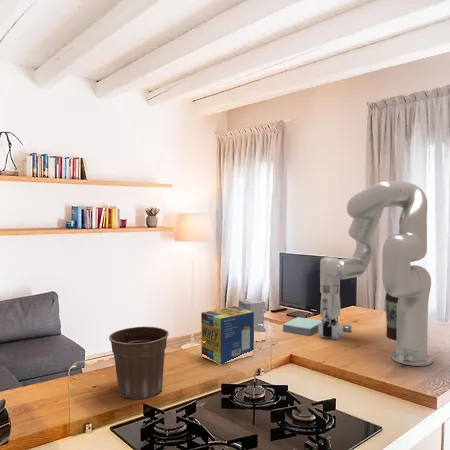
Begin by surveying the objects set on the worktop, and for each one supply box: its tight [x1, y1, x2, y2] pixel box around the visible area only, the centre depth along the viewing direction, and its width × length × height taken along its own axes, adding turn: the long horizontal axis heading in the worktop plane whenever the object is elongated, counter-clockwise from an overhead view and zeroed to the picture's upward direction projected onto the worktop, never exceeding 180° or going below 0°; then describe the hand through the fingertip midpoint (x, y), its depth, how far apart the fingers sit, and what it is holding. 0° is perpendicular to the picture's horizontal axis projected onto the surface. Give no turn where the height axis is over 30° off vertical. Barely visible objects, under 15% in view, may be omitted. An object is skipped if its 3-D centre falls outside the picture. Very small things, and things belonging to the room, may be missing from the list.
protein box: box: [200, 305, 255, 365], centre depth 156 cm, size 10×15×16 cm
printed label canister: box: [385, 292, 398, 341], centre depth 178 cm, size 11×11×25 cm
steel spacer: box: [343, 324, 353, 333], centre depth 187 cm, size 4×4×2 cm
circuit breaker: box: [238, 298, 267, 333], centre depth 175 cm, size 8×14×15 cm, turn 111°
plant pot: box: [108, 326, 169, 400], centre depth 127 cm, size 16×16×16 cm
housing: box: [317, 320, 344, 340], centre depth 179 cm, size 5×8×6 cm, turn 55°
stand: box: [282, 316, 322, 337], centre depth 189 cm, size 14×12×3 cm
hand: (329, 334), depth 180 cm, fingers closed on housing, 5 cm apart
